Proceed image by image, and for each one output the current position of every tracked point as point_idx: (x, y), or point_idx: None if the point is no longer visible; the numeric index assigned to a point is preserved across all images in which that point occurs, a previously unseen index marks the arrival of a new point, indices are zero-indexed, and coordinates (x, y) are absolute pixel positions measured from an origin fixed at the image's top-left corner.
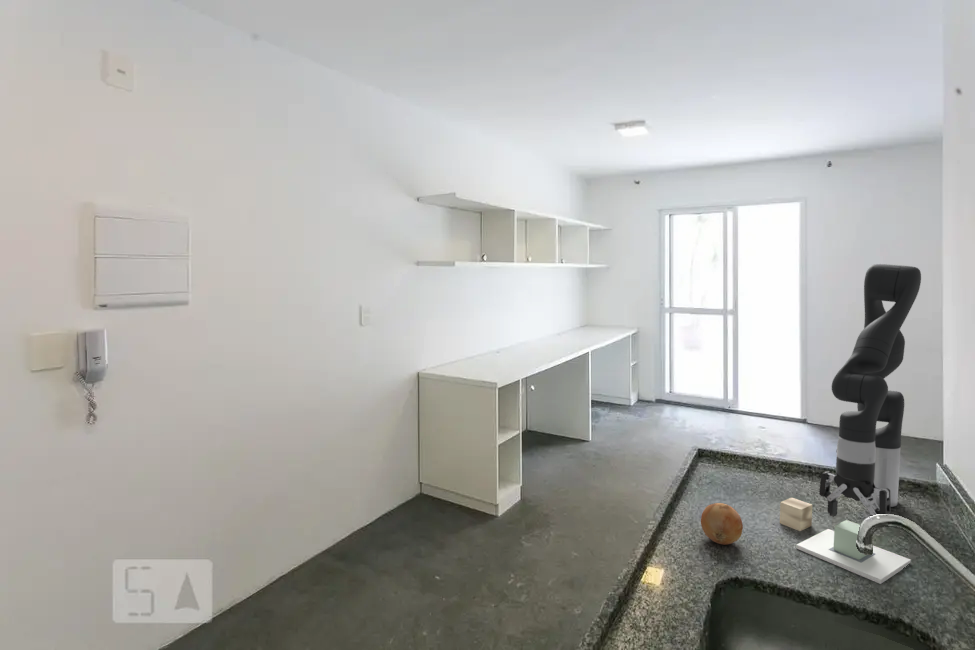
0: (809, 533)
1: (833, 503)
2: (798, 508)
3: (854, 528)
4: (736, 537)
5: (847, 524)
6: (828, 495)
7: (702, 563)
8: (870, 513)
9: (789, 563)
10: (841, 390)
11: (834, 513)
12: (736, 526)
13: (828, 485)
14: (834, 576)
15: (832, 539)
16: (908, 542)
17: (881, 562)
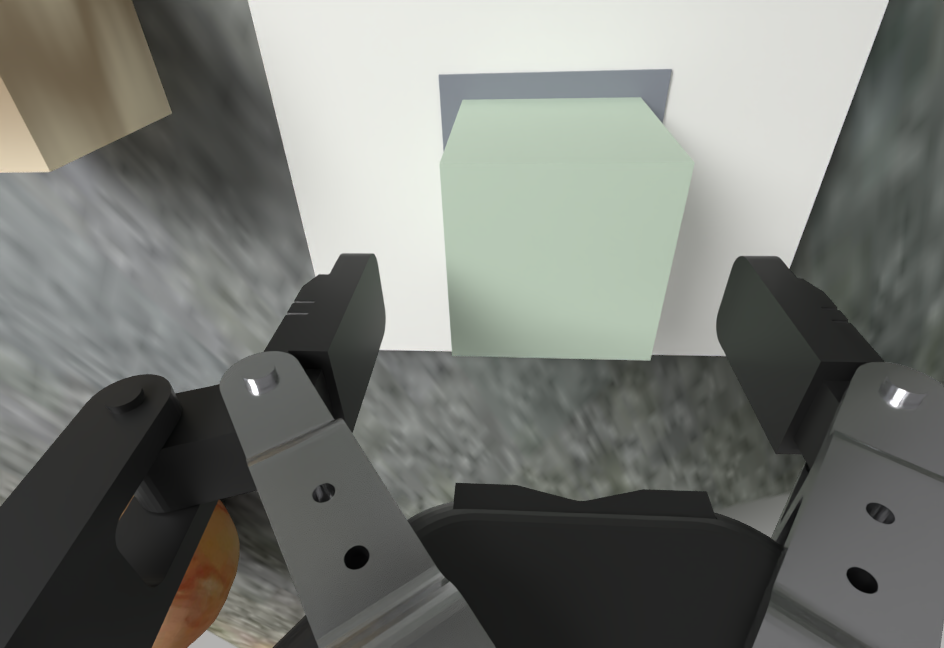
0: (216, 88)
1: (351, 424)
2: (24, 171)
3: (574, 284)
4: (237, 553)
5: (500, 256)
6: (250, 478)
7: (295, 598)
8: (796, 481)
9: (417, 454)
10: None
11: (375, 310)
12: (216, 609)
13: (114, 566)
14: (577, 420)
15: (378, 109)
16: None
17: (729, 167)
